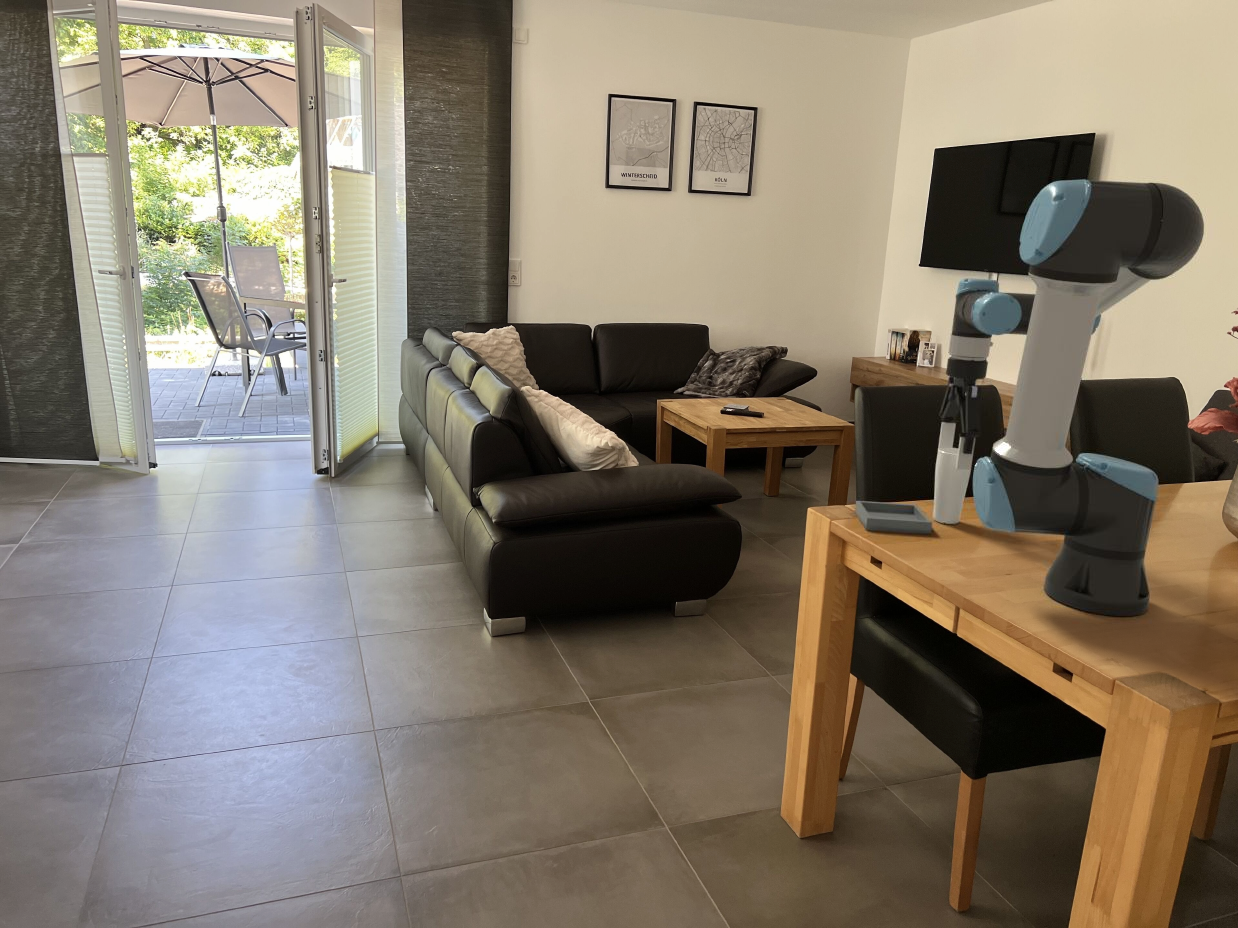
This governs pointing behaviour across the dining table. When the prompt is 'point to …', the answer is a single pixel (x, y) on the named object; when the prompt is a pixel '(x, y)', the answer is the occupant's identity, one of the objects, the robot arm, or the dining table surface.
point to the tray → (893, 517)
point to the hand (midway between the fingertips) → (953, 460)
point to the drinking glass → (949, 487)
